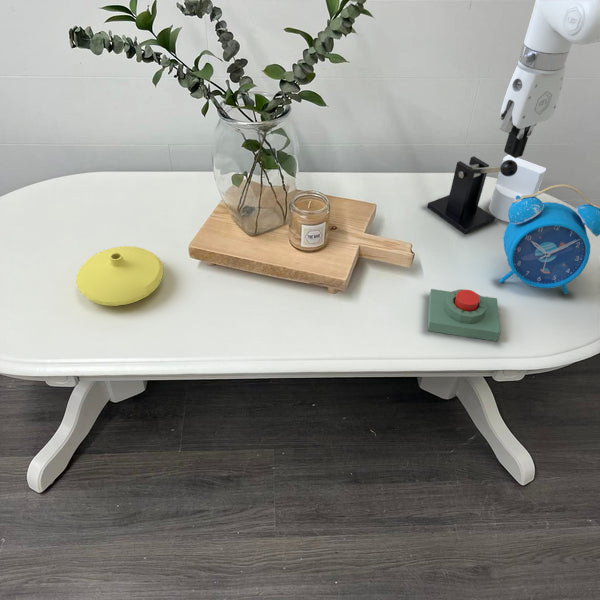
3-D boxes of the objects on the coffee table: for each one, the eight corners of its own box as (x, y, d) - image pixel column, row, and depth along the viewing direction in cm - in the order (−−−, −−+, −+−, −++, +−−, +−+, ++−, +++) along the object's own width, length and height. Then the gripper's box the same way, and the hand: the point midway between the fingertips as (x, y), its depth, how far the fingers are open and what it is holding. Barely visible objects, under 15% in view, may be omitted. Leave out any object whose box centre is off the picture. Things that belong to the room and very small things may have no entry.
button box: (494, 306, 106) (499, 291, 104) (496, 341, 100) (502, 325, 97) (428, 297, 108) (432, 281, 105) (427, 330, 101) (431, 314, 99)
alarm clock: (489, 289, 110) (519, 201, 96) (489, 257, 117) (517, 170, 104) (581, 305, 107) (625, 216, 94) (575, 271, 114) (615, 184, 101)
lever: (522, 173, 112) (520, 157, 111) (511, 178, 111) (508, 161, 110) (472, 176, 123) (470, 162, 122) (462, 180, 122) (459, 166, 121)
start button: (477, 298, 103) (479, 291, 101) (477, 313, 100) (480, 306, 98) (454, 295, 103) (456, 287, 102) (454, 310, 100) (456, 302, 99)
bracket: (494, 221, 127) (509, 170, 118) (464, 234, 123) (478, 182, 114) (455, 196, 134) (468, 146, 125) (426, 207, 130) (437, 156, 121)
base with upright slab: (536, 210, 130) (553, 163, 122) (518, 227, 125) (535, 179, 117) (500, 195, 134) (514, 149, 126) (481, 211, 129) (495, 164, 121)
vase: (72, 316, 102) (61, 287, 97) (87, 260, 113) (79, 231, 108) (162, 312, 103) (156, 283, 98) (168, 257, 114) (163, 228, 110)
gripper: (530, 73, 92) (500, 173, 105) (589, 56, 98) (554, 152, 111) (496, 57, 97) (470, 155, 109) (554, 42, 103) (523, 136, 116)
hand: (512, 153), depth 110 cm, fingers closed
